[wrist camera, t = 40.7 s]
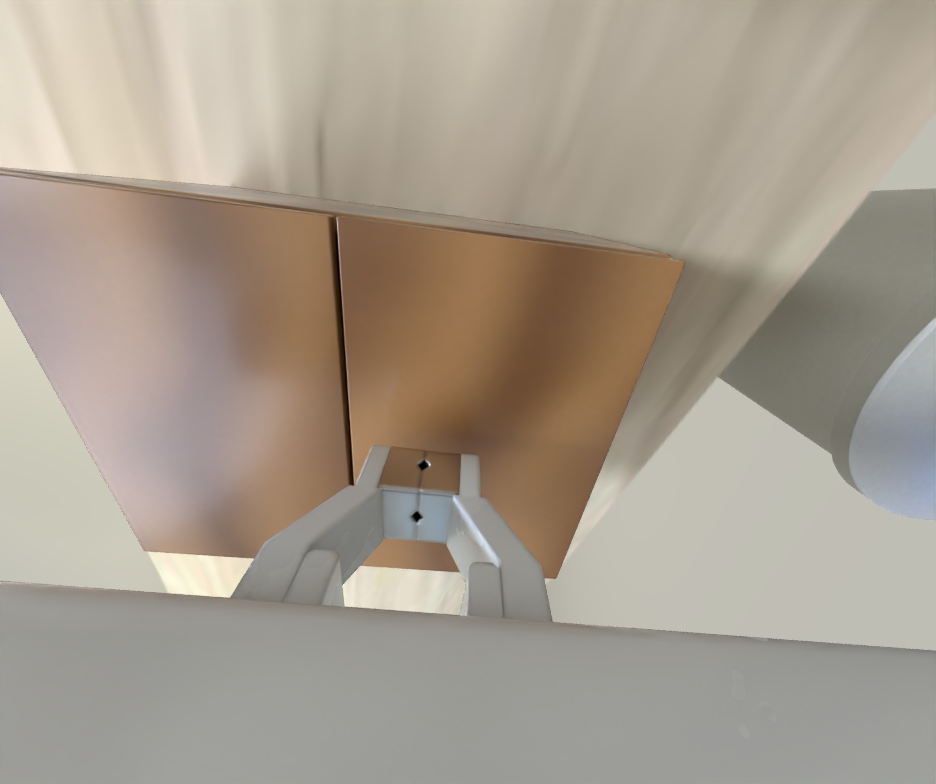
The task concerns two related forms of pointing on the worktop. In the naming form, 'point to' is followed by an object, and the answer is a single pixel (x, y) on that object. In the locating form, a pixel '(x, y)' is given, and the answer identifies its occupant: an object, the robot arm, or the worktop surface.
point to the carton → (199, 342)
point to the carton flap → (495, 365)
